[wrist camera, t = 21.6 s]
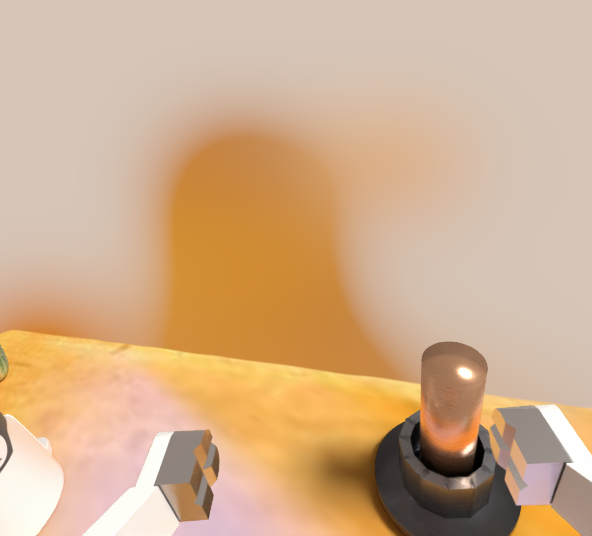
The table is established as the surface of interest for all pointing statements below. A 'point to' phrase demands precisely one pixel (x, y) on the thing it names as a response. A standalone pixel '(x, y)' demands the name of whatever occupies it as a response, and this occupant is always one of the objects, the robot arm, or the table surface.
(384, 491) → the pipe sleeve
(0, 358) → the vegetable
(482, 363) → the copper pipe
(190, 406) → the table surface
